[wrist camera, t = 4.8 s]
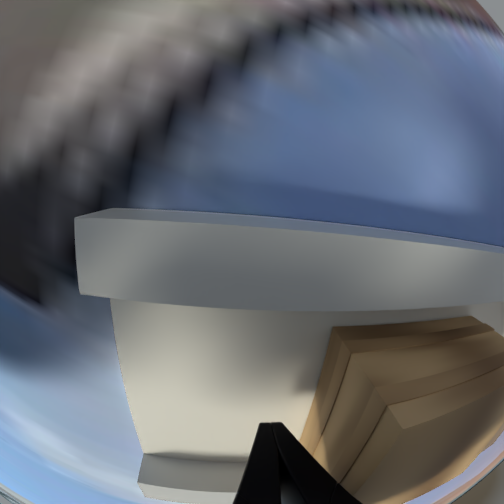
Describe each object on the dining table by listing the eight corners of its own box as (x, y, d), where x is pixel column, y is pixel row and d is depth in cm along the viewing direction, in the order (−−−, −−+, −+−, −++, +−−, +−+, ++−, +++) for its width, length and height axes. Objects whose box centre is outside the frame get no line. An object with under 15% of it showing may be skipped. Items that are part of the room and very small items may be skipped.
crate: (296, 447, 11) (318, 529, 6) (331, 325, 9) (402, 428, 4) (423, 419, 12) (462, 472, 7) (472, 314, 10) (539, 361, 5)
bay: (151, 464, 11) (141, 518, 7) (112, 208, 8) (39, 227, 4) (469, 416, 14) (493, 443, 10) (536, 253, 11) (576, 269, 7)
